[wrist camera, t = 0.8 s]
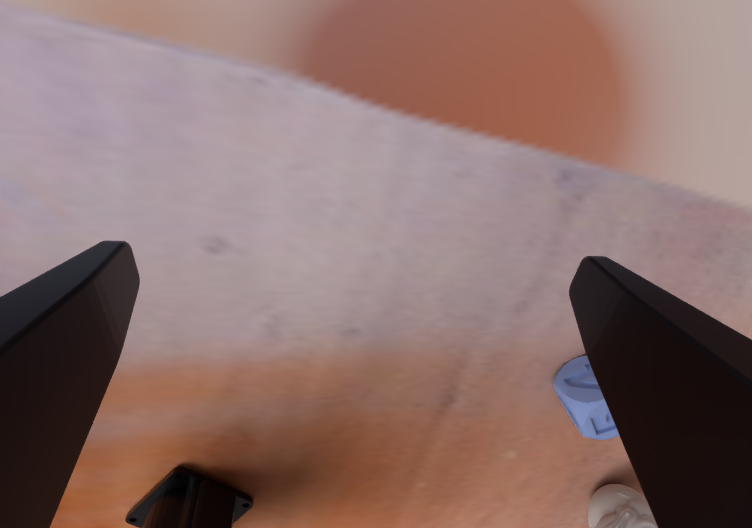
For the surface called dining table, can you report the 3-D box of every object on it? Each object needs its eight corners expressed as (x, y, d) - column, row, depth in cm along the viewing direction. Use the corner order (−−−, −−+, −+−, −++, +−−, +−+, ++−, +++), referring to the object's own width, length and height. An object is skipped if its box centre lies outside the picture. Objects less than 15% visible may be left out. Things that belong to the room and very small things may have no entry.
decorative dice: (546, 370, 32) (575, 413, 29) (599, 345, 32) (635, 386, 29) (561, 405, 34) (590, 449, 31) (611, 381, 34) (647, 423, 30)
